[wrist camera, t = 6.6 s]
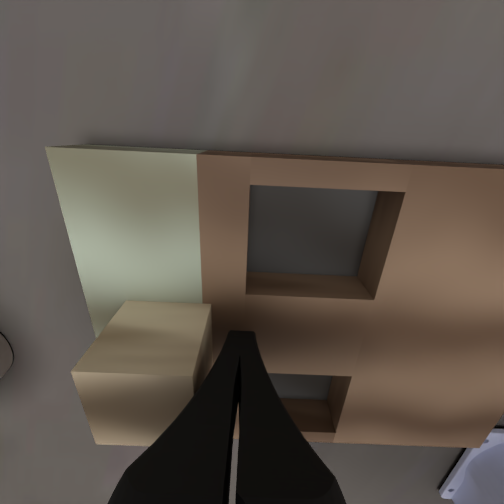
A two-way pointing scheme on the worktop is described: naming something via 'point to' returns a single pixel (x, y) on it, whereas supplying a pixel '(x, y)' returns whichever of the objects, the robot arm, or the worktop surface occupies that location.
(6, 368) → the coffee cup
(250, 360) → the robot arm
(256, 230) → the board
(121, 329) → the beech block
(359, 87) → the worktop surface
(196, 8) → the worktop surface
